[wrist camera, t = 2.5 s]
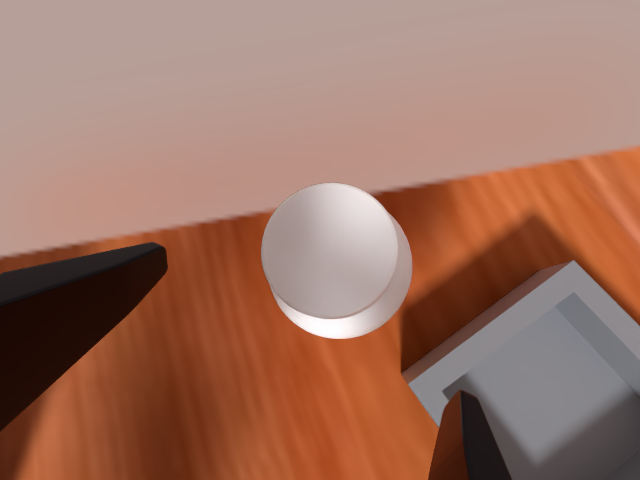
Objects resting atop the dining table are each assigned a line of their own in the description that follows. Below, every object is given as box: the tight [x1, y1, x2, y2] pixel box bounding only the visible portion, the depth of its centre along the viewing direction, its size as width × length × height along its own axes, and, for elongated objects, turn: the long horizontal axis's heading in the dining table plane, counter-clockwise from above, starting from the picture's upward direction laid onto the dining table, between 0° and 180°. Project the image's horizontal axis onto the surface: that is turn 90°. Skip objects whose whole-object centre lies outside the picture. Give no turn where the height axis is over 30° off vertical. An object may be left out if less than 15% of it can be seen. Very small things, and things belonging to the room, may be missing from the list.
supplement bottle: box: [261, 183, 412, 339], centre depth 14 cm, size 5×5×10 cm
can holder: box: [401, 260, 640, 480], centre depth 14 cm, size 9×9×3 cm
